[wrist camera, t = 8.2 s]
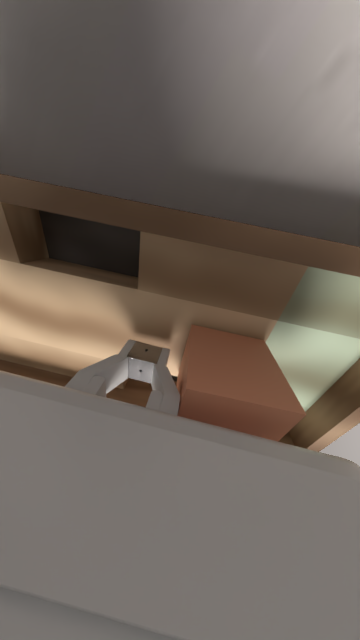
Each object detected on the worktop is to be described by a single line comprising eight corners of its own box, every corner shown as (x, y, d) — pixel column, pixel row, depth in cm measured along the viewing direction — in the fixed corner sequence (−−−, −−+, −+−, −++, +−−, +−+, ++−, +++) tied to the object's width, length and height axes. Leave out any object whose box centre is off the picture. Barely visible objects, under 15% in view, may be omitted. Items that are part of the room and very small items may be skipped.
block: (191, 324, 11) (186, 388, 7) (264, 340, 11) (306, 414, 7) (177, 374, 13) (167, 444, 9) (237, 387, 13) (254, 463, 9)
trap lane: (-92, 159, 11) (-258, 121, 7) (413, 262, 10) (551, 285, 6) (0, 344, 19) (-53, 373, 15) (282, 412, 18) (303, 463, 14)
